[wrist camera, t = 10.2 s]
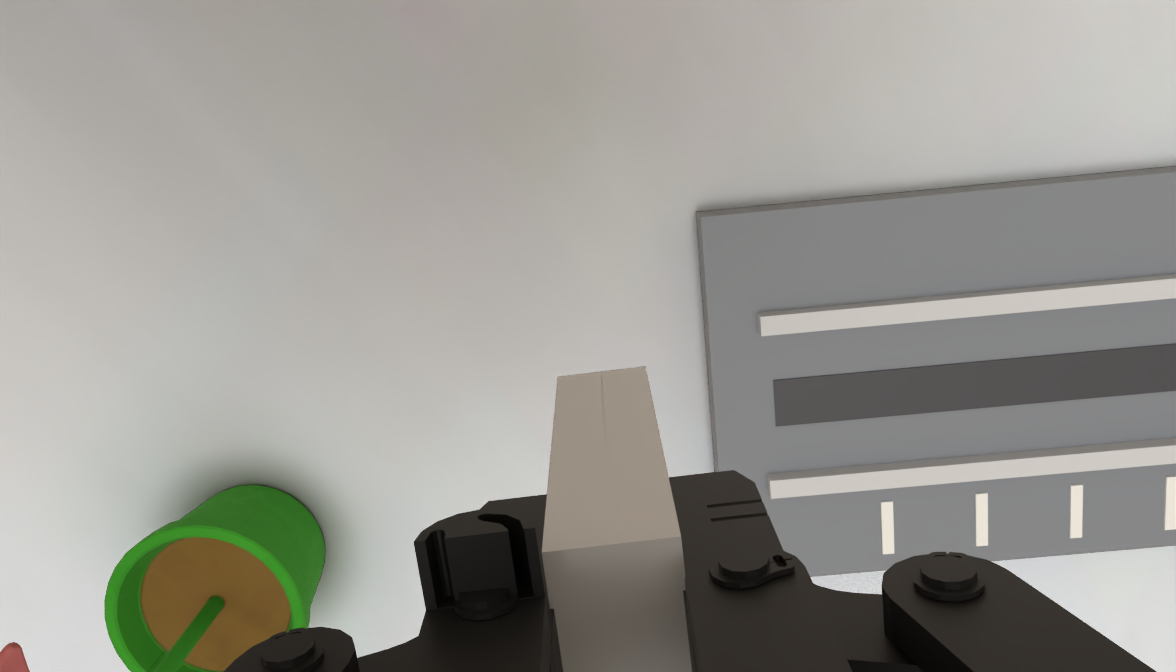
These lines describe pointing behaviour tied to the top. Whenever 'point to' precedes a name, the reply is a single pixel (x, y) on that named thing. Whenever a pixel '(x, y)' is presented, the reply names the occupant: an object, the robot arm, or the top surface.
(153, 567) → the potted flower
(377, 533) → the top surface
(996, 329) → the console
